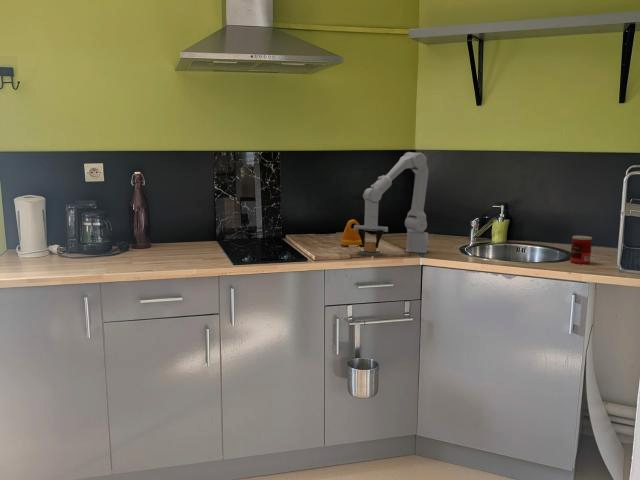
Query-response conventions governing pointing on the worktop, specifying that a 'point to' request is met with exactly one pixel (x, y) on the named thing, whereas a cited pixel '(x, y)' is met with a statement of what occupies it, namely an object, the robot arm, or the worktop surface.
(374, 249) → the ring
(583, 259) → the canned food
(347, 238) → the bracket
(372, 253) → the post block
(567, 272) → the worktop surface
